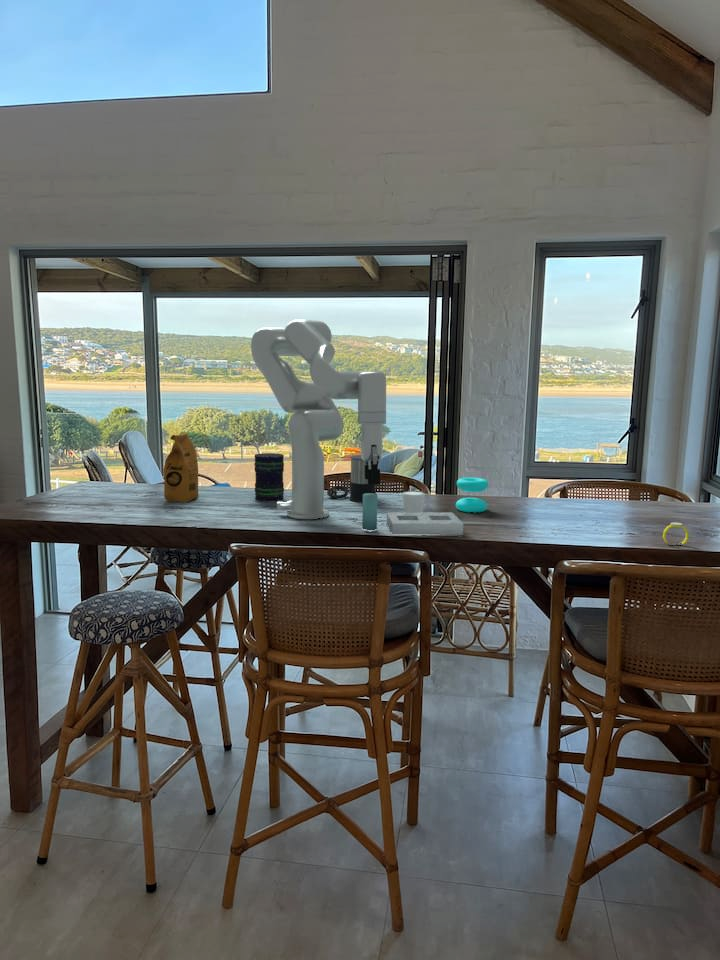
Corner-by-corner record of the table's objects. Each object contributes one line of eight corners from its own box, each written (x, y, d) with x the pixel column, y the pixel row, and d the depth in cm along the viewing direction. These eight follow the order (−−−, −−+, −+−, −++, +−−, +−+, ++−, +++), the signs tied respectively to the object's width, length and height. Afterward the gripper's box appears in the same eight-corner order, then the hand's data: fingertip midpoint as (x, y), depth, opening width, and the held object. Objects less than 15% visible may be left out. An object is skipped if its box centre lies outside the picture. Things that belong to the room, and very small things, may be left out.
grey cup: (423, 518, 201) (423, 495, 200) (400, 517, 202) (400, 494, 201) (425, 513, 208) (426, 491, 206) (403, 512, 209) (404, 490, 208)
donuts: (454, 476, 218) (485, 477, 218) (453, 506, 219) (483, 507, 219) (459, 481, 208) (491, 482, 208) (458, 513, 209) (490, 513, 209)
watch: (664, 547, 173) (665, 524, 172) (661, 544, 176) (661, 522, 175) (689, 547, 172) (689, 524, 172) (685, 544, 175) (686, 521, 174)
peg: (362, 532, 183) (363, 496, 181) (361, 528, 187) (362, 493, 185) (377, 532, 183) (378, 496, 182) (376, 528, 187) (376, 493, 186)
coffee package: (159, 502, 219) (156, 434, 215) (175, 495, 231) (173, 431, 227) (188, 503, 217) (186, 435, 214) (203, 496, 229) (201, 432, 226)
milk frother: (379, 502, 225) (380, 458, 223) (333, 503, 221) (334, 459, 219) (368, 494, 239) (369, 452, 236) (324, 495, 235) (325, 453, 232)
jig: (392, 536, 179) (392, 523, 178) (386, 524, 192) (386, 512, 192) (462, 536, 180) (463, 523, 180) (451, 524, 194) (452, 512, 193)
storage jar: (254, 496, 231) (253, 453, 229) (283, 495, 233) (282, 453, 230) (255, 502, 221) (254, 457, 219) (285, 501, 223) (285, 456, 221)
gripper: (356, 417, 188) (356, 477, 191) (360, 420, 171) (360, 486, 174) (382, 416, 189) (382, 477, 191) (389, 420, 172) (389, 486, 174)
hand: (372, 481), depth 182 cm, fingers open, 9 cm apart
